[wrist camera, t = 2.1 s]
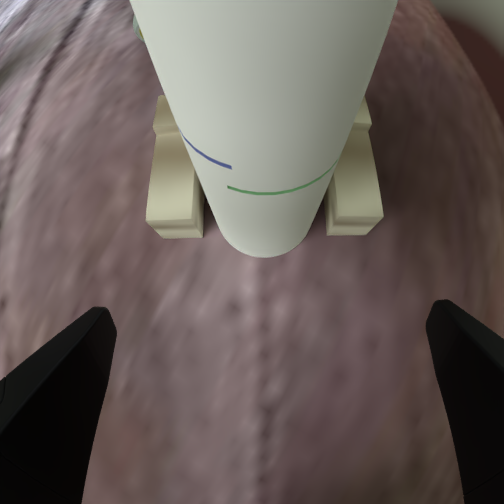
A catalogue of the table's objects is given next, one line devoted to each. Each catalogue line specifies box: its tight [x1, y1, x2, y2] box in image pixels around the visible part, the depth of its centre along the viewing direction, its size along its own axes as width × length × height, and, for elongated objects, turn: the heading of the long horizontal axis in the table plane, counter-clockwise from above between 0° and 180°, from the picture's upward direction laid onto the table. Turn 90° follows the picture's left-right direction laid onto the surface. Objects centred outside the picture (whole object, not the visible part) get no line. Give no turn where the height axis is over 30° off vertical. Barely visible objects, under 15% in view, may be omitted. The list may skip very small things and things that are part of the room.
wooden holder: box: [146, 95, 384, 239], centre depth 22 cm, size 10×15×5 cm, turn 91°
